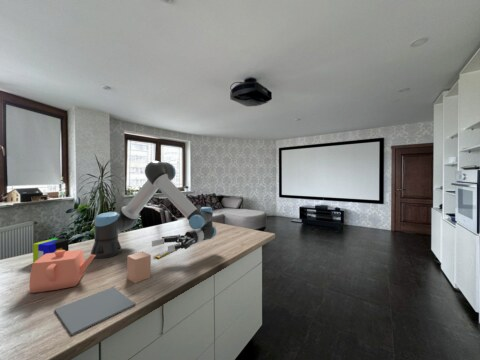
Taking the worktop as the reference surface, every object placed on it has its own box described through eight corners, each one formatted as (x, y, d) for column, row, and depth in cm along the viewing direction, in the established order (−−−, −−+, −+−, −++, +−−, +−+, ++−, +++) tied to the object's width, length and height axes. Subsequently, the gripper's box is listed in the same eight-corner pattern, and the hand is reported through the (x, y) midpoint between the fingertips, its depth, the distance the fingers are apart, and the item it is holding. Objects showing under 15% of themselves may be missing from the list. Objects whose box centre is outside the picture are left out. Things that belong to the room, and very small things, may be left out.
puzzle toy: (48, 265, 105) (48, 245, 105) (33, 263, 107) (33, 243, 107) (68, 257, 115) (68, 239, 115) (53, 256, 117) (54, 238, 117)
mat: (54, 310, 70) (54, 308, 70) (113, 288, 84) (113, 286, 84) (71, 335, 59) (71, 333, 59) (135, 305, 73) (135, 303, 73)
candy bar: (173, 249, 132) (173, 246, 132) (178, 250, 131) (178, 247, 131) (152, 258, 117) (152, 255, 117) (158, 259, 115) (158, 256, 115)
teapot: (20, 302, 74) (20, 263, 74) (48, 275, 94) (48, 244, 94) (88, 291, 82) (88, 255, 82) (100, 268, 102) (100, 240, 102)
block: (127, 278, 93) (127, 255, 93) (142, 272, 98) (142, 251, 98) (134, 283, 88) (135, 259, 88) (150, 277, 94) (150, 255, 94)
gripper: (209, 247, 111) (175, 260, 94) (180, 239, 125) (146, 249, 109) (209, 233, 111) (175, 243, 94) (180, 227, 125) (146, 234, 108)
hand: (159, 246), depth 101 cm, fingers open, 13 cm apart
